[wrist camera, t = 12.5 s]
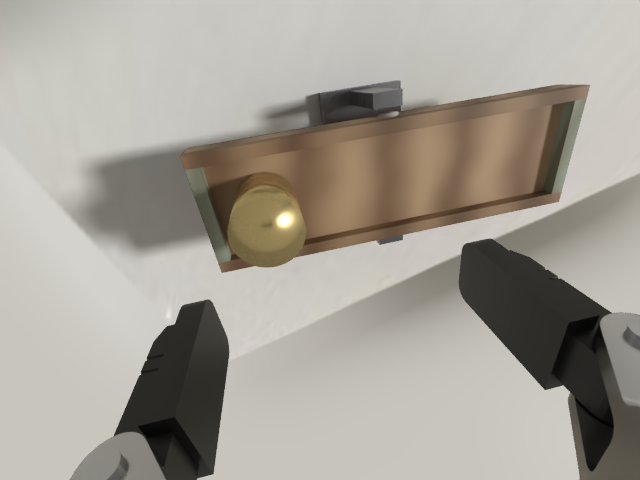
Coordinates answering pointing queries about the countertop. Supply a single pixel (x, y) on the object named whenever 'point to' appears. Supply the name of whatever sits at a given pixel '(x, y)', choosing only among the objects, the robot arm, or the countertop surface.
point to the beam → (400, 168)
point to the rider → (266, 221)
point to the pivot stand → (361, 108)
